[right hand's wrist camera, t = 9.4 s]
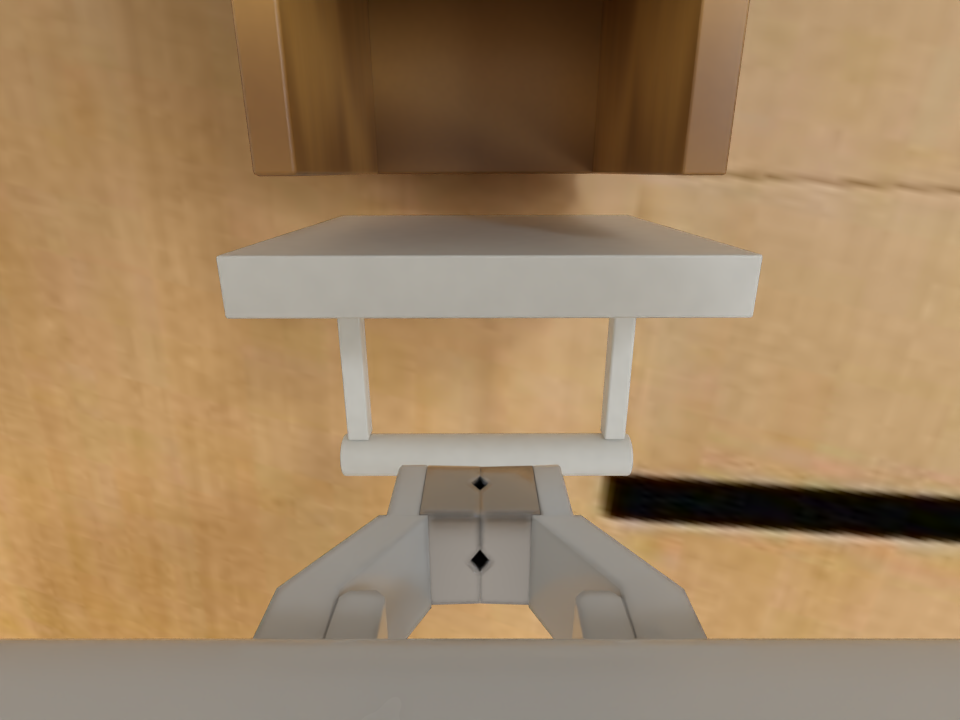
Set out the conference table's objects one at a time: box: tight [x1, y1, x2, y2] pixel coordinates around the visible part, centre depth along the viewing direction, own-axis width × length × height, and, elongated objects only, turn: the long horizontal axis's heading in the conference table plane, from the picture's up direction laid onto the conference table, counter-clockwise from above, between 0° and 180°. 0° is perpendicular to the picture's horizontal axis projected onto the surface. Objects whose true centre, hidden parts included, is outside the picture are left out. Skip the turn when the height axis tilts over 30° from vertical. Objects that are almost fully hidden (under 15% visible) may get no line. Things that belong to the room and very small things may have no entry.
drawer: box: [216, 0, 762, 476], centre depth 14 cm, size 19×10×10 cm, turn 0°
